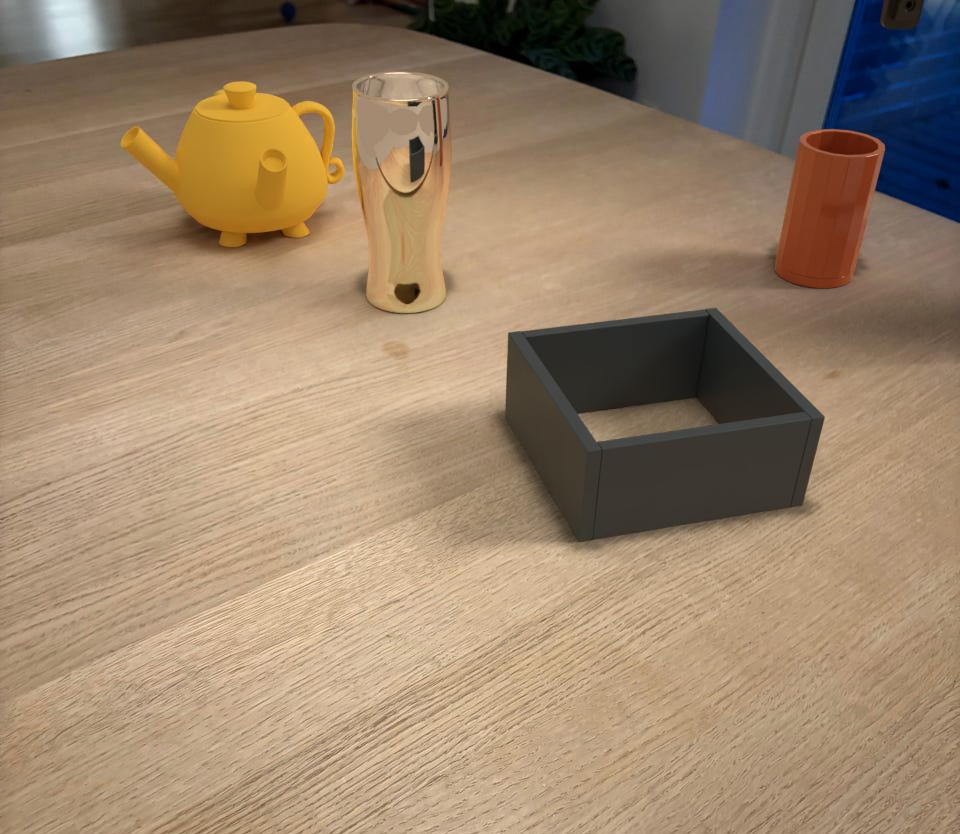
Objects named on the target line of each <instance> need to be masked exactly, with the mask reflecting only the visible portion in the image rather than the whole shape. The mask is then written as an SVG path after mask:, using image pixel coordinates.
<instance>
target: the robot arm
mask: <svg viewBox="0 0 960 834" xmlns="http://www.w3.org/2000/svg"><path fill="white" fill-rule="evenodd" d="M924 3H925V0H883V5H882V9H881V14H880V20H879V22H880V25H881V26H882V27H883V28H885V29H886V30H889V31H895V30H896V31H898V30H899V31H900V30H901V31H903V30H913V29H915V28H916V27H918V25H919V23H920V20H921V16H922V11H923V7H924Z"/></svg>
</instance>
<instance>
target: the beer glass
mask: <svg viewBox="0 0 960 834" xmlns="http://www.w3.org/2000/svg"><path fill="white" fill-rule="evenodd" d="M449 87H450V85H449V83H448V81H445V80H444V79H443V78H442V77H438V76H436V75H433V74H430V73H429V74H428V73H424V72H416V71H384V72H377V73H371V74H368V75H364V76H362V77H358V79H355V80H354V81H353V83H352V84H351V92H352V93H351V95H352V96H351V97H352V99H351V152H352V153H351V154H352V164H353V172H354V178H355V184H356V189H357V194H358V199H359V205H360V208H361V212H362V217H363V221H364V227H365V230H366V236H367V240H368V241H367V243H368V251H369V253H368V254H369V261H368V263H369V264H368V273H367V280H366V289H365V296H366V299H367V301H368V303H369V304H371V305H372V306H373V307H375V308H377V309H380V310H381V311H385V312H389V313H396V314H416V313H422V312H426V311H427V312H428V311H430V310H432V309H435V308H437V307H438V306H440V305H441V304H442V303H443V302H444V301H445V299H446V297H447V296H446V295H447V290H446V283H445V277H444V273H443V267H442V257H441V255H442V254H441V248H442V247H441V245H442V234H443V228H444V221H445V215H446V209H447V203H448V198H449V191H450V184H451V177H452V176H451V175H452V162H453V161H452V157H453V155H452V154H453V139H452V120H451V108H450V94H449V93H450V92H449V89H450V88H449Z"/></svg>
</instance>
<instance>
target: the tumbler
mask: <svg viewBox="0 0 960 834" xmlns="http://www.w3.org/2000/svg"><path fill="white" fill-rule="evenodd" d="M885 152H886V145H885V143H883V142H882V141H881V140H880V139H879V138H877V137H874V136H872V135H870V134H866V133H863V132H860V131H859V132H858V131H854V130H849V129H838V128H837V129H835V128H829V129H828V128H827V129H826V128H825V129H824V128H823V129H822V128H821V129H816V130H811V131H806V132H805V133H803V134H801V135H800V136H799V139H798V145H797V150H796V154H795V160H794V165H793V170H792V174H791V180H790V184H789V190H788V194H787V195H788V196H787V199H786V205H785V209H784V215H783V220H782V225H781V232H780V235H779V241H778V244H777V245H778V246H777V250H776V255H775V260H774V261H775V262H774V272H775V273H776V274H777V276H778V277H780V278H782V279H783V280H785V281H787V282H789V283H792V284H794V285H798V286H802V287H807V288H814V289H833V288H839V287H842V286H845V285H847V284H849V283H850V282H851V281H852V280H853V277H854V273H855V270H856V267H857V264H858V260H859V255H860V252H861V247H862V243H863V240H864V236H865V231H866V228H867V224H868V219H869V216H870V211H871V207H872V205H873V204H872V203H873V200H874V195H875V192H876V188H877V183H878V179H879V175H880V171H881V168H882V163H883V159H884V156H885Z"/></svg>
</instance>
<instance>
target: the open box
mask: <svg viewBox="0 0 960 834" xmlns="http://www.w3.org/2000/svg"><path fill="white" fill-rule="evenodd" d="M506 353H507V355H506V356H507V357H506V378H505V379H506V381H505V383H506V384H505V405H504V406H505V409H504V410H505V411H504V418H505V420H506V421H507V424H508V425H509V427H510V428H511V430H512V432H513V433H514V435H515V437H516V439H517V440H518V442H519V444H520V445H521V447H522V449H523V451H524V452H525V454H526V455H527V457H528V460H529V461H530V462H531V464H532V466H533V467H534V469H535V470H536V473H537V474H538V476H539V477H540V479H541V481H542V482H543V484H544V486H545V488H546V490H547V491H548V493H549V494H550V496H551V498H552V500H553V501H554V503H555V504H556V507H557V509H559V511H560V513H561V515H562V517H563V519H564V520H565V522H566V523H567V525H568V526H569V528H570V531H572V533H573V535H574V537H575V538H576V540H577V542H578V543H583V542H584V543H585V542H589V541H595V540H596V541H597V540H601V539H607V538H614V537H620V536H625V535H631V534H639V533H644V532H650V531H655V530H657V531H658V530H662V529H668V528H674V527H680V526H681V527H682V526H686V525H692V524H699V523H704V522H711V521H717V520H723V519H728V518H734V517H735V518H736V517H742V516H746V515H747V516H748V515H754V514H760V513H766V512H772V511H777V510H783V509H789V508H795V507H801V506H803V505H804V502H805V497H806V493H807V491H808V485H809V482H810V477H811V473H812V470H813V466H814V462H815V458H816V453H817V450H818V446H819V442H820V439H821V435H822V430H823V426H824V422H825V418H826V417H825V415H824V414H823V413H822V412H821V411H820V410H819V409H818V408H817V407H816V406H815V405H814V404H813V403H812V402H811V401H810V400H809V399H808V398H807V396H805V395H804V394H803V393H802V392H801V391H800V390H799V389H798V388H797V387H796V386H795V385H794V384H793V383H792V382H791V381H790V380H789V379H788V378H787V377H786V376H785V375H784V374H783V373H782V372H781V371H780V370H779V368H777V367H776V366H775V365H774V364H773V363H772V362H771V361H770V360H769V359H768V358H767V357H766V356H765V355H764V354H763V353H762V352H761V351H760V350H759V349H758V348H757V347H756V346H755V345H754V343H752V342H751V341H750V340H749V339H748V338H747V337H746V336H745V335H744V334H743V333H742V332H741V331H740V330H739V328H738V327H736V326H735V325H734V324H733V323H732V322H731V321H730V320H729V319H728V318H727V317H726V316H725V315H724V314H723V312H721V311H720V310H719V309H718V308H717V307H711V308H705V309H703V308H702V309H696V310H687V311H679V312H670V313H669V312H668V313H661V314H655V315H645V316H637V317H636V316H635V317H629V318H628V317H627V318H620V319H612V320H604V321H603V320H602V321H595V322H594V321H593V322H586V323H578V324H570V325H569V324H568V325H562V326H554V327H545V328H536V329H535V328H534V329H528V330H516V331H508V333H507V352H506ZM687 399H688V400H689V399H697V400H698V401H699V403H700V404H701V405H702V406H703V407H704V409H706V411H707V412H708V413H709V414H710V416H712V417H713V419H714V420H715V421H716V422H717V424H713V425H712V424H711V425H704V426H697V427H691V428H683V429H676V430H669V431H662V432H655V433H648V434H642V435H635V436H627V437H622V438H615V439H614V438H613V439H608V440H607V439H606V440H600V441H599V440H598V441H597V440H596V438H595V437H594V436H593V435H592V433H591V432H590V430H589V429H588V427H587V426H586V425H585V423H584V421H583V420H582V418H581V417H580V415H579V414H587V413H594V412H599V411H600V412H602V411H609V410H615V409H623V408H630V407H638V406H646V405H652V404H659V403H660V404H661V403H667V402H674V401H680V400H687Z"/></svg>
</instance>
